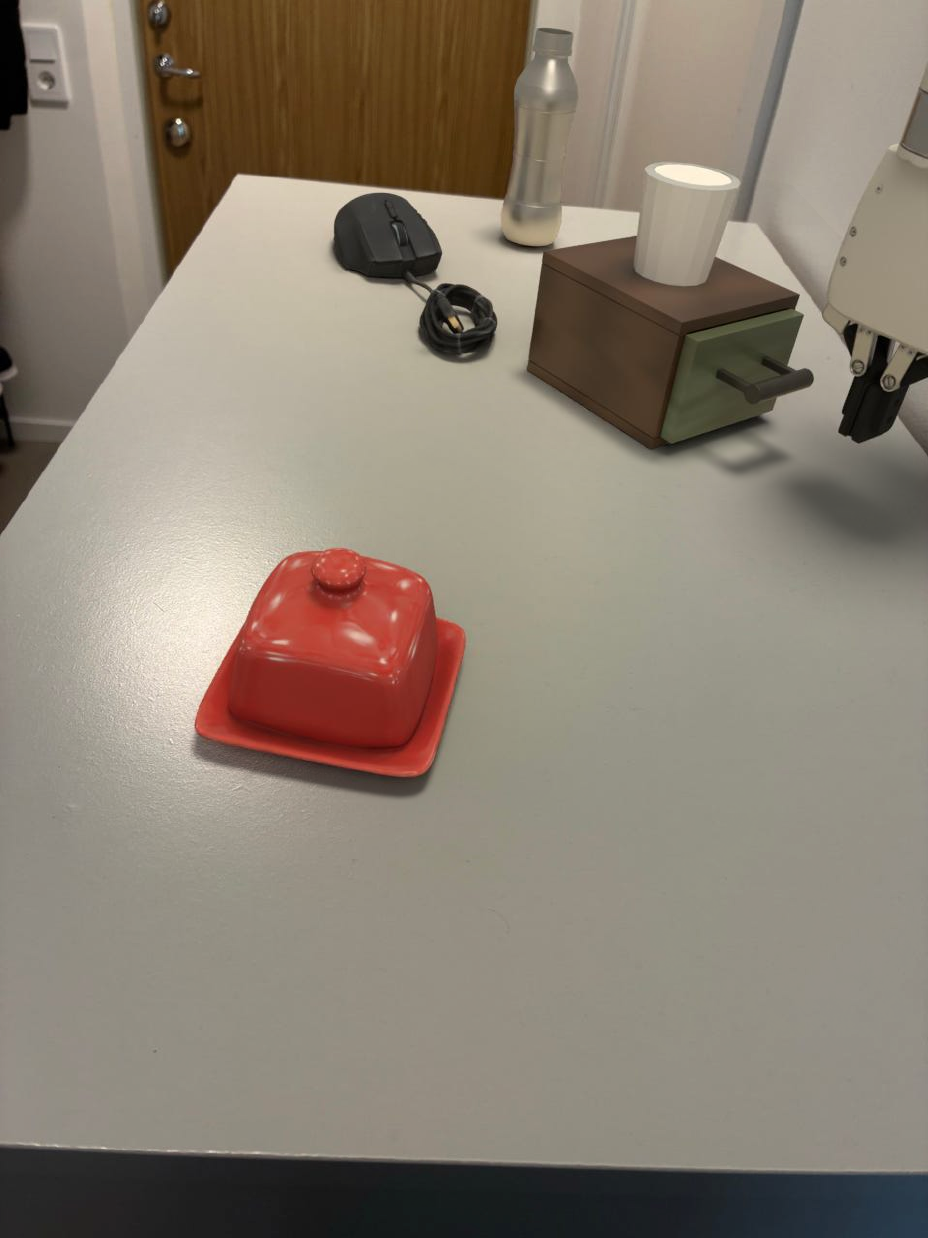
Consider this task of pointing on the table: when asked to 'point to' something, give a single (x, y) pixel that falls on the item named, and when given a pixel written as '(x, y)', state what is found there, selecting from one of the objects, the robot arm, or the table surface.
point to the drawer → (733, 373)
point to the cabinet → (630, 328)
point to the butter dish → (338, 667)
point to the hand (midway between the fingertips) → (861, 433)
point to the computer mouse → (410, 266)
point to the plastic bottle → (540, 141)
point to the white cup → (682, 221)
